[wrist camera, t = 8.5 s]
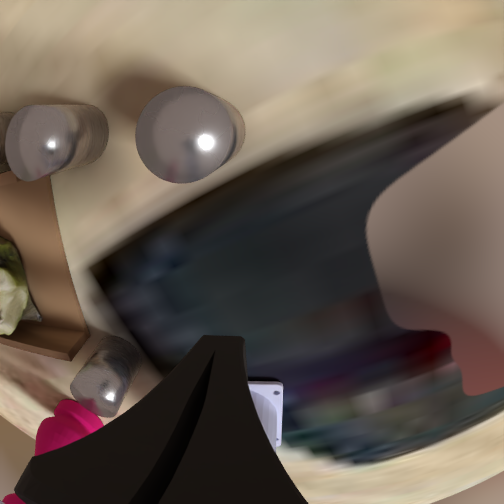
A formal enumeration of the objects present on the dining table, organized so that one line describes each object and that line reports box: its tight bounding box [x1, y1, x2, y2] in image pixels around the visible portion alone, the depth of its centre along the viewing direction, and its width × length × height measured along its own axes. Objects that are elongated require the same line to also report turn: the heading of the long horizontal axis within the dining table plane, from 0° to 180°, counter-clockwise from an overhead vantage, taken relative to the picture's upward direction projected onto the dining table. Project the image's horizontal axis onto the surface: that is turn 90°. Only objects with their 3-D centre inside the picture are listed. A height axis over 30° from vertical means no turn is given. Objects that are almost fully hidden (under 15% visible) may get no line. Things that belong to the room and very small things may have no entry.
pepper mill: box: [2, 399, 104, 504], centre depth 20 cm, size 7×7×20 cm
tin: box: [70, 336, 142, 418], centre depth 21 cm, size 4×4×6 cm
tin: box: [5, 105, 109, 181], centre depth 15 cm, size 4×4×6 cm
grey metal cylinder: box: [135, 86, 245, 183], centre depth 14 cm, size 4×4×6 cm
